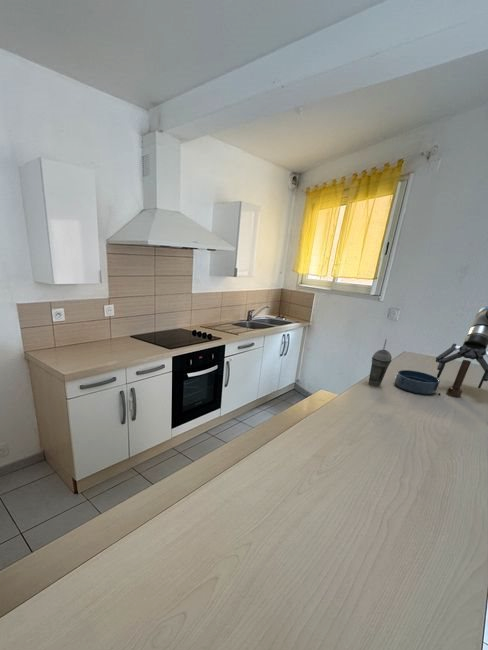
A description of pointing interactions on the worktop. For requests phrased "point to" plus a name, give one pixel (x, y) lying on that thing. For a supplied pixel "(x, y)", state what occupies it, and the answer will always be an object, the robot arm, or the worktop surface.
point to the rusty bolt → (459, 380)
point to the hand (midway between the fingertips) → (458, 381)
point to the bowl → (416, 382)
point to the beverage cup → (379, 366)
